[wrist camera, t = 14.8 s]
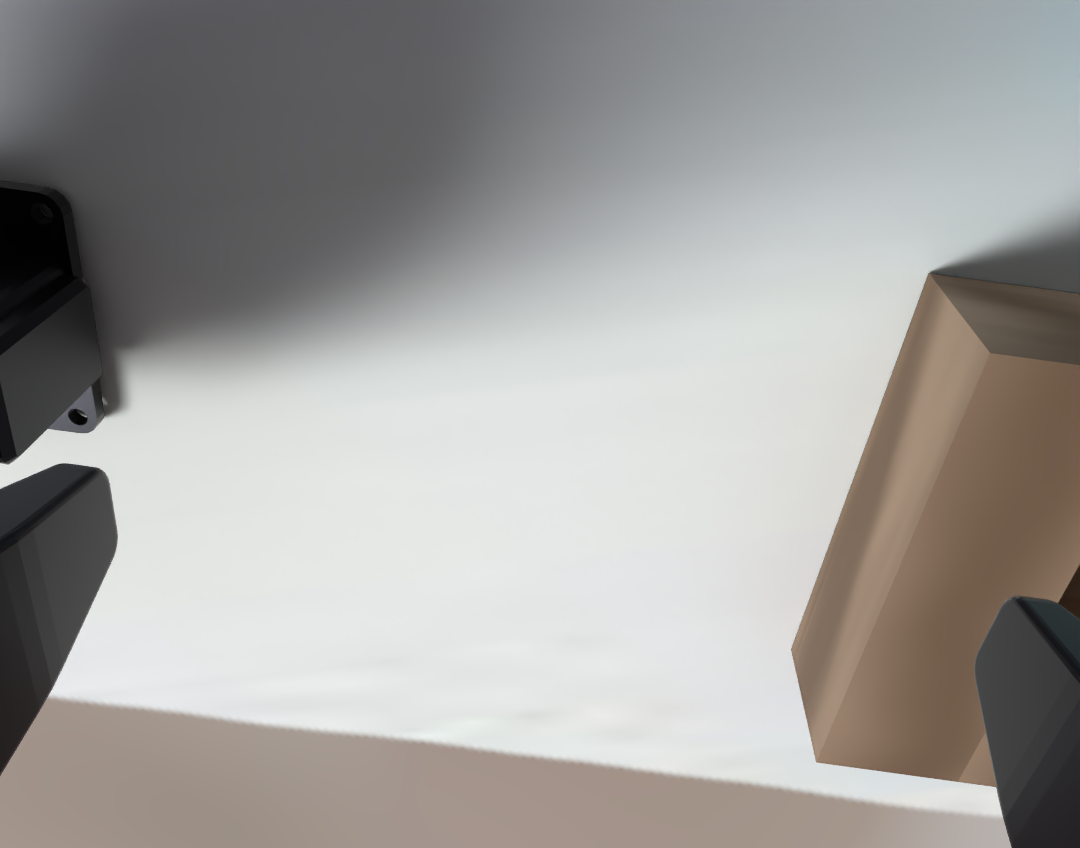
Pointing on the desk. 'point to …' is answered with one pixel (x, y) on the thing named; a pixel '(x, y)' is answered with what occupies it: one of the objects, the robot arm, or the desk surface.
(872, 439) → the brown flat block
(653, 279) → the desk surface
